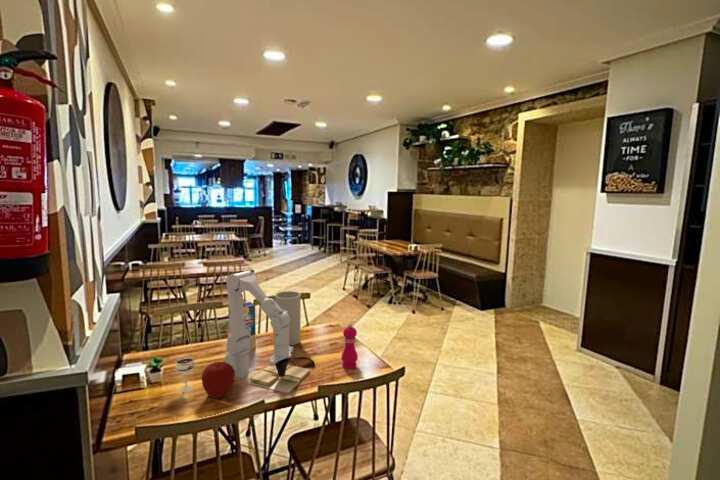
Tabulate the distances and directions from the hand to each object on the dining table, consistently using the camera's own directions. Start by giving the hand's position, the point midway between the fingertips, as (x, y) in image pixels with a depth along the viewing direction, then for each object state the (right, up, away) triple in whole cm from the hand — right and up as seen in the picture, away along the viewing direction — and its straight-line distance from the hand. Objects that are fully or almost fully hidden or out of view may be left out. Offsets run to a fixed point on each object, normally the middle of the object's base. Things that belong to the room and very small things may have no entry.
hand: (281, 375), depth 150 cm
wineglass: (-37, -5, -1) cm, 38 cm away
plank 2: (+1, -2, +3) cm, 4 cm away
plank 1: (-8, -3, +6) cm, 11 cm away
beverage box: (-27, 0, +36) cm, 45 cm away
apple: (-23, -6, -6) cm, 24 cm away
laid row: (-1, -3, +13) cm, 13 cm away
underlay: (-3, -4, +9) cm, 10 cm away
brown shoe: (+3, -3, +25) cm, 25 cm away
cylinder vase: (-6, +1, +45) cm, 46 cm away
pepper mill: (+26, -3, +20) cm, 33 cm away
